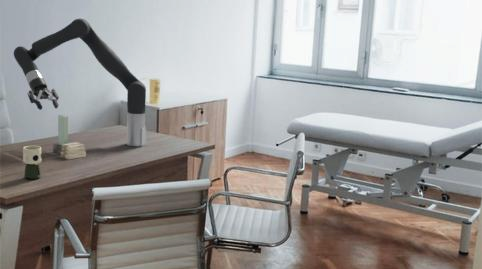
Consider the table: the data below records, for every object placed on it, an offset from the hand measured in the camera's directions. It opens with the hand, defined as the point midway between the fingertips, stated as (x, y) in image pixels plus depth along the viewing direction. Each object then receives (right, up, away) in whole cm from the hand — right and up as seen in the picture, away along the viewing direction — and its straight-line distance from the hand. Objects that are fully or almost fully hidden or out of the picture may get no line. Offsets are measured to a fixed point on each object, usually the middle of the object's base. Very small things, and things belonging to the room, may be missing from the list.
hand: (49, 108), depth 284 cm
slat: (+8, -21, -3) cm, 23 cm away
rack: (+10, -23, -5) cm, 25 cm away
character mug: (+7, -31, -41) cm, 52 cm away
